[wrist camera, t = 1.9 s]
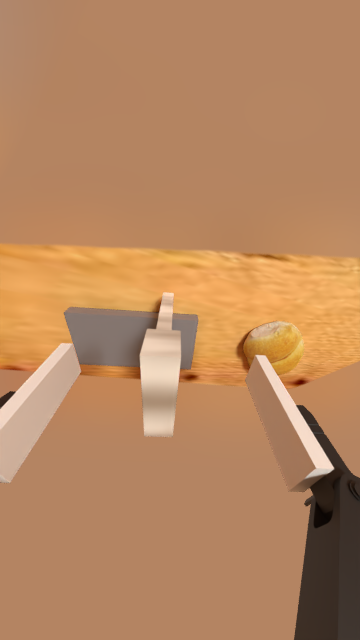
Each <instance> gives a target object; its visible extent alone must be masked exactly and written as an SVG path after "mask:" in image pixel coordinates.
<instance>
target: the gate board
mask: <svg viewBox="0 0 360 640" xmlns="http://www.w3.org/2000/svg"><path fill="white" fill-rule="evenodd" d="M64 315H65V318H66V322H67V325H68V328H69V331H70V334H71V338H72V341H73V344H74V347H75V350H76V354H77V357H78V360H79V363H80V364H87V365H108V366H129V367H140V353H141V349H142V345H143V342H144V338H145V334H146V331H147V329H156V327H157V322H158V317H159V313H158V312H142V311H126V310H110V309H94V308H78V307H70V308H68V309H67V310H66V311H65V312H64ZM197 325H198V317H197V315H189V314H174V313H173V314H172V330H178V331H181V363H180V369H191V364H192V358H193V351H194V345H195V338H196V332H197Z"/></svg>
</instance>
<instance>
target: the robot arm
mask: <svg viewBox="0 0 360 640" xmlns="http://www.w3.org/2000/svg"><path fill="white" fill-rule="evenodd" d="M80 373H81V369H80V365H79V362H78V359H77V356H76V353H75V349H74V346H73V344H66V343H61V344H60V346H59V347H58V348H57V349H56V350H55V351H54V352H53V353H52V354H51V355H50V356H49V357H48V358H47V359H46V361H45V362H44V363H43V364H42V365H41V366H40V367H39V368H38V369H37V370H36V371H35V372H34V373H33V375H32V376H31V377H30V378H29V379H28V380H27V381H26V382H25V383H24V384H23V385H22V386H21V387H20V388H19V390H18V391H17V392H11V391H10V392H9V393H7V394H6V395H4V396H3V397H1V398H0V483H10V482H11V481H12V479H13V478H14V476H15V474H16V473H17V471H18V469H19V468H20V466H21V465H22V463H23V462H24V460H25V459H26V457H27V456H28V454H29V452H30V451H31V449H32V448H33V446H34V445H35V443H36V441H37V440H38V438H39V437H40V435H41V434H42V432H43V431H44V429H45V427H46V425H47V424H48V423H49V421H50V420H51V418H52V416H53V415H54V413H55V412H56V410H57V409H58V407H59V405H60V404H61V402H62V401H63V399H64V398H65V396H66V394H67V393H68V391H69V390H70V388H71V387H72V385H73V384H74V382H75V380H76V379H77V377H78V376H79V374H80ZM245 381H246V384H247V386H248V389H249V391H250V394H251V396H252V399H253V402H254V404H255V407H256V409H257V412H258V414H259V417H260V419H261V422H262V424H263V427H264V429H265V432H266V435H267V437H268V440H269V442H270V445H271V447H272V450H273V452H274V455H275V458H276V460H277V463H278V465H279V468H280V470H281V473H282V475H283V478H284V480H285V483H286V486H287V488H288V491H291V492H292V491H293V492H305V491H306V490H307V489H308V488H310V489H311V491H312V493H313V496H311V497H310V498H308V499H307V500H306V501H305V503H304V504H305V505H306V506H308V505H310V504H311V508H310V515H309V523H308V531H307V539H306V548H305V556H304V564H303V572H302V580H301V588H300V596H299V605H298V613H297V621H296V629H295V637H294V640H360V478H359V477H356V476H355V475H353V474H352V473H351V472H350V470H349V469H348V468H347V466H346V465H345V463H344V462H343V461H342V459H341V457H340V456H339V454H338V453H337V451H336V450H335V448H334V447H333V446H332V444H331V442H330V441H329V439H328V438H327V436H326V435H325V434H324V432H323V430H322V429H321V427H320V426H319V425H318V423H317V421H316V420H315V418H314V416H313V415H312V414H311V413H310V412H309V411H308V410H307V409H306V408H305V407H304V406H303V405H295V403H294V402H293V400H292V398H291V397H290V395H289V393H288V392H287V390H286V388H285V387H284V385H283V384H282V382H281V380H280V379H279V377H278V375H277V374H276V372H275V370H274V369H273V367H272V365H271V364H270V362H269V361H268V359H267V357H266V356H265V355H255V357H254V359H253V362H252V364H251V367H250V369H249V372H248V374H247V377H246V379H245Z"/></svg>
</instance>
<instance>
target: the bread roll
mask: <svg viewBox="0 0 360 640" xmlns="http://www.w3.org/2000/svg"><path fill="white" fill-rule="evenodd" d="M243 351H244V354H245V355H246V357H247V360H248V364H249V366H250V367H251V364H252V362H253V359H254V357H255V355H265V356H266V357H267V359H268V361H269V362H270V364H271V365H272V367H273V369H274V370H275V372H276V374H277V375H282V374H285V373H287V372H289V371H291V370H292V369H294V368H295V367H296V366H297V364H298V363H299V361H300V360H301V358H302V356H303V353H304V342H303V338H302V335H301V332H300V331H299V330H298V329H297V327H296V326H294V325H293V324H291V323H289V322H284V321H274V322H271V323H267V324H264V325H261V326H259V327H257V328H255V329H253V330H252V331H251V332H250V333H249V335H248V337H247V339H246V340H245V342H244V347H243Z"/></svg>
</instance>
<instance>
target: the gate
mask: <svg viewBox="0 0 360 640" xmlns="http://www.w3.org/2000/svg"><path fill="white" fill-rule="evenodd" d="M173 296H174V293H165V292H163V296H162V301H161V307H160V312H159V317H158V322H157V327H156V329H147V331H146V334H145V338H144V342H143V345H142V349H141V353H140V370H141V386H142V404H143V420H144V436H158V437H173V428H174V418H175V409H176V399H177V391H178V381H179V372H180V363H181V331H178V330H172V314H173Z"/></svg>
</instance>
